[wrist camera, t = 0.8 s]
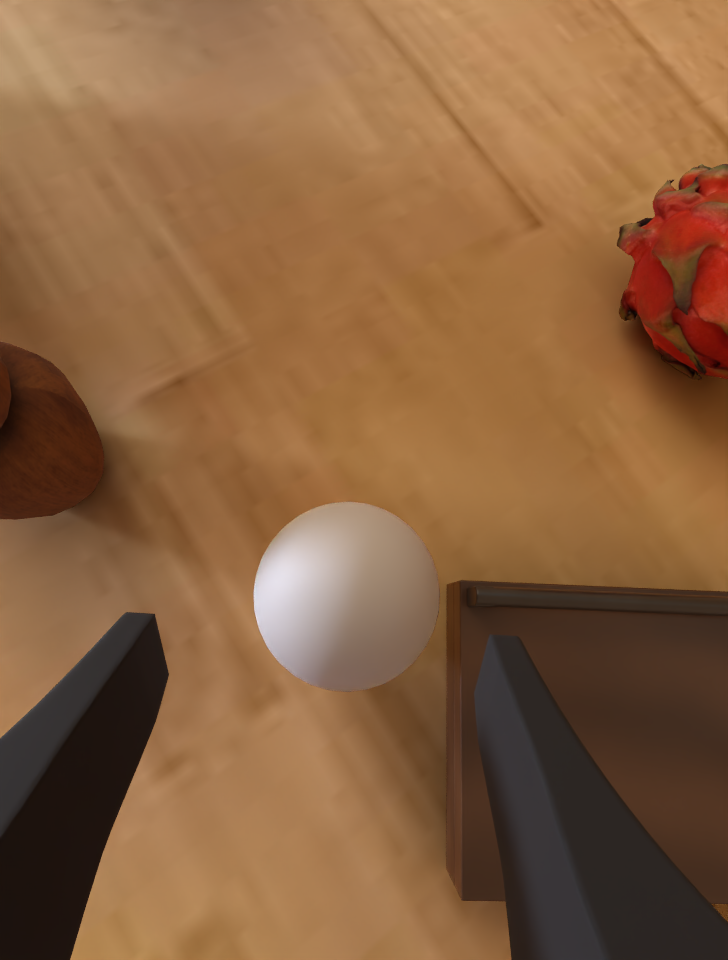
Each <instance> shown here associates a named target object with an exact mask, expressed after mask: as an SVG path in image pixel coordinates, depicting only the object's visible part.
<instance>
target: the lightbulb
mask: <svg viewBox="0 0 728 960" xmlns="http://www.w3.org/2000/svg"><path fill="white" fill-rule="evenodd" d="M439 597H440V590H439V582H438V575H437V571H436V568H435V565H434V562H433V559H432V556H431V555H430V553H429V551H428V549H427V548H426V546H425V544H424V542H423V541H422V540H421V538H420V537H419V536H418V535H417V534H416V532H415V531H414V530H413V529H412V528H411V527H410V526H409V525H408V524H406V523H405V522H404V521H403V520H401V519H400V518H399V517H398V516H396V515H394V514H392V513H390V512H388V511H386V510H384V509H382V508H379V507H376V506H373V505H369V504H366V503H357V502H338V503H330V504H326V505H323V506H319V507H316V508H313V509H311V510H309V511H307V512H305V513H303V514H301V515H299V516H297V517H296V518H295V519H294V520H292V521H291V522H290V523H288V524H287V525H286V526H285V527H283V528H282V530H281V531H280V532H279V533H278V534H277V535H276V537H275V538H274V539H273V540H272V541H271V543H270V545H269V546H268V548H267V550H266V551H265V553H264V555H263V557H262V559H261V562H260V565H259V568H258V571H257V574H256V580H255V587H254V609H255V615H256V619H257V623H258V627H259V631H260V633H261V635H262V637H263V639H264V641H265V643H266V645H267V647H268V649H269V650H270V651H271V653H272V654H273V655H274V657H275V658H276V659H277V660H278V662H279V663H280V664H281V665H282V666H284V667H285V668H286V669H287V670H288V671H289V672H290V673H292V674H293V675H294V676H296V677H298V678H299V679H301V680H303V681H305V682H307V683H308V684H310V685H313V686H317V687H320V688H323V689H326V690H332V691H343V692H351V691H359V690H367V689H370V688H373V687H376V686H379V685H382V684H385V683H386V682H388V681H390V680H391V679H393V678H395V677H397V676H398V675H400V674H401V673H402V672H404V671H405V670H406V669H407V668H408V667H409V666H410V665H411V664H412V663H414V662H415V660H416V659H417V658H418V656H419V655H420V654H421V652H422V651H423V650H424V648H425V647H426V645H427V643H428V641H429V639H430V637H431V635H432V633H433V631H434V628H435V624H436V620H437V616H438V612H439Z"/></svg>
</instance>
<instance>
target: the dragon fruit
mask: <svg viewBox="0 0 728 960" xmlns="http://www.w3.org/2000/svg"><path fill="white" fill-rule="evenodd" d="M673 181H674V180H672V181H670V180H669V181H667V182H666V183H665V185H664V186H663V187H662V188H661V189H660V190H659V191H658V192H657V193H656V195H655V198H654V201H653V208H654V212H655V217H654V218H645V219H643V220H641V221H639V222H637V223H630V224H626V225H623V226H621V227H620V232H619V233H620V235H619V239H618V241H617V246H618V247H619V248H621V249H622V250H623V251H625V253H627V254H628V255H631V256H632V257H633V258H634V260H635V264H634V267H633V271H632V275H631V278H630V281H629V284H628V287H627V289H626V290H625V291H624V293H623V296H622V299H621V306H620V309H619V314H620V317H621V318H622V319H623V320H624V321H627V320H635V319H636V316H637V314H638V315H639V316H640V319H641V321H642V323H643V326H644V328H645V330H646V331H647V333H648V334H649V335H650V337H651V338H652V339H653V341H652V343H653V345H654V348H655V349H656V350H657V351H659V352H660V353H661V354H662V357H661V359H662V360H663V361H665V362H666V363H668V364H670V365H672V366H673V367H674V368H676V369H677V370H679V371H681V372H683V373H685V374H687V375H688V376H689V377H691V378H692V379H701V380H702V378H701V377H700V376H699V375H698V374H697V372H699V373H701V374H704V375H708V376H714V377H720V378H725V379H728V164H722V165H719V166H716V167H714V168H710V167H706V166H704V165H703V164H700V165H699V166H698V167H695V168H692V169H691V170H689V171H688V172H687V173H685V174H684V175H683V176H682V178H681V179H680V181H679V190H676V189H674V188H673V187H672V186H671V183H672V182H673Z"/></svg>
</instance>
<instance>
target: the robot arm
mask: <svg viewBox="0 0 728 960" xmlns="http://www.w3.org/2000/svg"><path fill="white" fill-rule="evenodd" d="M168 676H169V673H168V669H167V664H166V660H165V656H164V652H163V647H162V643H161V639H160V635H159V630H158V626H157V622H156V618H155V614H147V613H131V612H126V613H125V614H124V615H122V616H121V618H120V619H119V620H118V621H117V622H116V623H115V624H114V625H113V626H112V627H111V628H110V629H109V630H108V631H107V633H106V634H105V635H104V636H103V637H102V638H101V639H100V640H99V641H98V642H97V643H96V644H95V645H94V647H93V648H92V649H91V650H90V651H89V652H88V653H87V654H86V655H85V656H84V657H83V658H82V659H81V660H80V661H79V662H78V663H77V664H76V665H75V667H74V668H73V669H72V670H71V671H70V672H69V673H68V674H67V675H66V676H65V677H64V678H63V679H62V680H61V681H60V682H59V683H58V684H57V685H56V686H55V687H54V688H53V689H52V690H51V691H50V692H49V693H48V694H47V695H46V696H45V697H44V698H43V699H42V700H41V701H40V702H39V703H38V704H37V705H36V706H35V707H34V708H32V709H31V710H30V711H29V712H28V713H27V714H26V715H25V716H24V717H23V718H22V719H21V720H20V721H19V722H17V723H16V724H15V725H14V726H13V727H12V728H11V729H10V730H9V731H8V732H7V733H6V734H5V735H4V736H2V737H1V738H0V960H70V958H71V955H72V951H73V948H74V944H75V941H76V938H77V934H78V931H79V928H80V924H81V921H82V917H83V914H84V911H85V907H86V904H87V901H88V898H89V895H90V891H91V888H92V885H93V882H94V879H95V875H96V872H97V869H98V866H99V863H100V860H101V856H102V853H103V851H104V848H105V845H106V843H107V840H108V837H109V834H110V832H111V829H112V827H113V824H114V822H115V819H116V817H117V815H118V812H119V810H120V807H121V805H122V802H123V800H124V798H125V795H126V793H127V790H128V788H129V786H130V783H131V781H132V778H133V776H134V773H135V771H136V769H137V766H138V764H139V761H140V759H141V757H142V754H143V752H144V749H145V747H146V744H147V742H148V739H149V737H150V734H151V732H152V729H153V727H154V724H155V722H156V718H157V715H158V712H159V708H160V705H161V701H162V698H163V694H164V691H165V687H166V683H167V679H168ZM474 698H475V712H476V724H477V735H478V744H479V749H480V755H481V760H482V765H483V771H484V776H485V781H486V786H487V792H488V797H489V802H490V807H491V812H492V818H493V823H494V828H495V833H496V838H497V843H498V849H499V854H500V860H501V867H502V873H503V880H504V889H505V899H506V908H507V918H508V927H509V937H510V947H511V958H512V960H728V922H727V921H726V920H725V919H724V918H723V917H722V916H721V914H720V913H719V912H718V911H717V910H716V909H715V908H714V907H713V906H712V905H711V903H710V902H709V901H708V900H707V899H706V898H705V897H704V896H703V895H702V894H701V892H700V891H699V890H698V889H697V888H696V887H695V886H694V885H693V884H692V883H691V881H690V880H689V879H688V878H687V877H686V876H685V875H684V874H683V873H682V872H681V870H680V869H679V868H678V867H677V866H676V865H675V864H674V862H673V861H672V860H671V859H670V858H669V857H668V855H667V854H666V853H665V852H664V851H663V849H662V848H661V847H660V846H659V845H658V843H657V842H656V841H655V840H654V839H653V837H652V836H651V835H650V834H649V833H648V831H647V830H646V829H645V828H644V826H643V825H642V824H641V823H640V821H639V820H638V819H637V817H636V816H635V815H634V814H633V812H632V811H631V810H630V809H629V807H628V806H627V805H626V803H625V802H624V801H623V799H622V798H621V797H620V796H619V794H618V793H617V791H616V790H615V789H614V787H613V786H612V785H611V783H610V782H609V781H608V779H607V778H606V776H605V775H604V774H603V772H602V771H601V769H600V768H599V766H598V765H597V764H596V762H595V761H594V759H593V758H592V757H591V755H590V754H589V752H588V751H587V749H586V748H585V746H584V745H583V743H582V742H581V740H580V739H579V737H578V735H577V734H576V732H575V731H574V729H573V728H572V726H571V725H570V723H569V721H568V720H567V718H566V717H565V715H564V714H563V712H562V710H561V709H560V707H559V706H558V704H557V702H556V701H555V699H554V697H553V696H552V694H551V692H550V690H549V689H548V687H547V685H546V684H545V682H544V680H543V678H542V677H541V675H540V673H539V671H538V670H537V668H536V666H535V664H534V662H533V661H532V659H531V657H530V655H529V653H528V651H527V649H526V647H525V646H524V644H523V642H522V640H521V639H520V638H519V637H518V636H509V635H492V634H489V638H488V642H487V645H486V649H485V653H484V657H483V661H482V665H481V668H480V672H479V676H478V680H477V684H476V688H475V691H474Z"/></svg>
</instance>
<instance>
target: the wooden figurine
mask: <svg viewBox="0 0 728 960" xmlns="http://www.w3.org/2000/svg"><path fill="white" fill-rule="evenodd" d="M103 468H104V453H103V448H102V444H101V440H100V437H99V434H98V432H97V430H96V427H95V425H94V423H93V421H92V419H91V416H90V414H89V412H88V410H87V408H86V406H85V404H84V403H83V401H82V400H81V398H80V397H79V395H78V394H77V393H76V391H75V390H74V388H73V387H72V385H71V384H70V382H69V381H68V380H67V378H66V377H65V375H64V374H63V373H62V372H61V371H60V370H59V369H58V368H57V367H56V366H54V365H53V364H52V363H51V362H49V361H47V360H46V359H44V358H42V357H40V356H39V355H37V354H34V353H32V352H29V351H27V350H24V349H22V348H19V347H17V346H14V345H12V344H9V343H4V342H0V519H24V518H33V517H42V516H52V515H55V514H57V513H60V512H62V511H64V510H67V509H69V508H71V507H74V506H75V505H77V504H78V503H79V502H81V501H82V500H83V499H85V498H86V497H87V496H88V495H90V494H91V493H92V492H93V491H94V490H95V488H96V486H97V484H98V482H99V480H100V478H101V477H102V475H103Z"/></svg>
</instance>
